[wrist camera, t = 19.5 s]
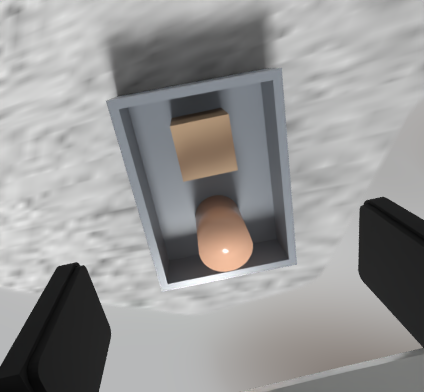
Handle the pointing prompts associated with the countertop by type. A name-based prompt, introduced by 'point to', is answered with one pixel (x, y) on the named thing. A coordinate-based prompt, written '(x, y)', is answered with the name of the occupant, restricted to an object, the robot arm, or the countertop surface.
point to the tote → (212, 185)
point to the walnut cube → (204, 144)
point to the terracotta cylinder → (222, 234)
